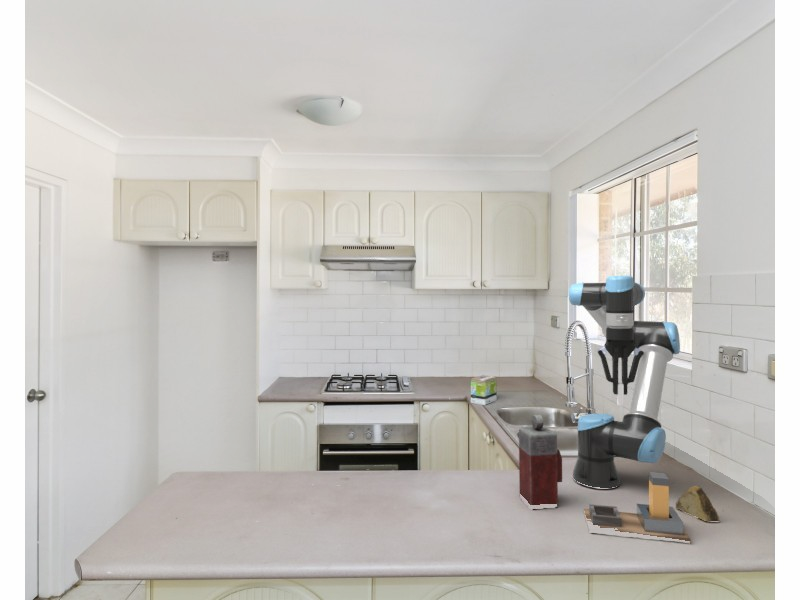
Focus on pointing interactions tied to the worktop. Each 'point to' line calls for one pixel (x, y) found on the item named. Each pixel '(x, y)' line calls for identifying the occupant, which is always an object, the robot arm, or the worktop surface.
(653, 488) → the plug
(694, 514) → the rock
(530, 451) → the red rectangular canister
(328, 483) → the worktop surface
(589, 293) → the robot arm
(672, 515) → the port
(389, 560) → the worktop surface
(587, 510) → the board
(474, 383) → the tea box
